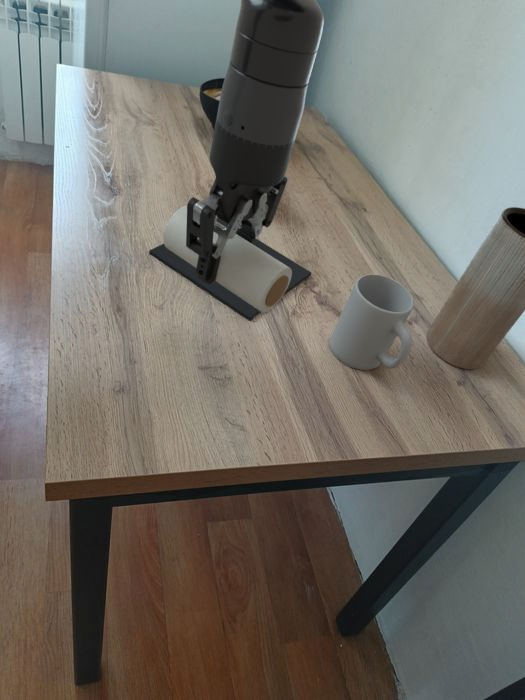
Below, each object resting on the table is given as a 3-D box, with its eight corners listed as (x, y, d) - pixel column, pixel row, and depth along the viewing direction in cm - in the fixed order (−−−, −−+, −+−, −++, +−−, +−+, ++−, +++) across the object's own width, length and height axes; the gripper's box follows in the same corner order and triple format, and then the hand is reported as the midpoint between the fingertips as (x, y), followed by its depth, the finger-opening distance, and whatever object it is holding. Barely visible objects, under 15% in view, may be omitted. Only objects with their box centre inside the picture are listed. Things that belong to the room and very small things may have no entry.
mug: (317, 335, 80) (343, 276, 73) (361, 325, 84) (389, 270, 77) (363, 394, 74) (397, 337, 66) (408, 381, 78) (444, 326, 70)
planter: (418, 322, 89) (491, 200, 74) (471, 330, 91) (553, 213, 76) (436, 366, 82) (521, 241, 67) (493, 373, 84) (588, 254, 69)
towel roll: (256, 321, 57) (269, 280, 54) (159, 255, 62) (164, 212, 58) (285, 301, 61) (299, 261, 57) (191, 239, 66) (198, 198, 62)
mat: (148, 253, 84) (149, 250, 84) (219, 219, 96) (220, 216, 96) (249, 320, 79) (250, 317, 78) (310, 275, 91) (311, 272, 91)
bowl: (184, 133, 118) (191, 86, 111) (206, 109, 131) (214, 66, 124) (257, 158, 118) (269, 113, 112) (273, 132, 131) (284, 90, 124)
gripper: (241, 157, 44) (206, 313, 55) (329, 126, 53) (284, 264, 65) (173, 118, 46) (153, 275, 57) (269, 95, 55) (236, 234, 67)
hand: (223, 269), depth 61 cm, fingers closed on towel roll, 5 cm apart
